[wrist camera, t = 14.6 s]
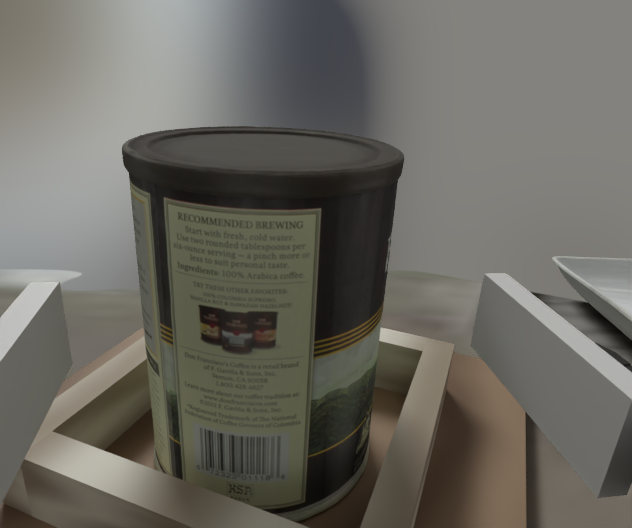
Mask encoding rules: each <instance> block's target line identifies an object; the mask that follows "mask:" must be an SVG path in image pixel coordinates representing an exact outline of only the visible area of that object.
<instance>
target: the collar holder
mask: <svg viewBox="0 0 632 528" xmlns="http://www.w3.org/2000/svg"><path fill="white" fill-rule="evenodd" d="M454 346H455V344H451V343H447V342H443V341H438V340H434V339H429V338H425V337H421V336H416V335H412V334H407V333H403V332H399V331H394V330H390V329H385V328H381V329H380V338H379V348H378V357H377V367H376V377H375V386H374V394H373V407H372V414H371V423H370V433H369V456H368V461H367V465H366V467H365V470H364V472H363V474H362V476H361V477H360V479H359V481H358V482H357V483H356V485H355V486H354V487H353V489H352V490H351V491H350V492H349V493H348V494H347V495H346V496H345V497H344V498H342V499H341V500H340V501H339V502H337V503H336V504H334V505H333V506H331V507H330V508H328V509H327V510H325V511H323V512H320V513H318V514H315V515H313V516H311V517H309V518H307V519H305V520H302V521H299V522H293V521H291V520H288V519H285V518H283V517H280V516H277V515H275V514H272V513H269V512H267V511H264V510H261V509H258V508H256V507H253V506H250V505H248V504H245V503H242V502H240V501H237V500H234V499H232V498H229V497H226V496H224V495H221V494H218V493H216V492H213V491H210V490H208V489H205V488H202V487H200V486H197V485H194V484H192V483H189V482H186V481H184V480H181V479H178V478H176V477H173V476H170V475H168V474H165V473H162V472H160V471H157V469H156V467H155V464H154V445H155V439H154V428H153V417H152V408H151V399H150V387H149V377H148V366H147V355H146V347H145V338H144V327H143V328H141V329H140V330H138V331H137V332H135V333H134V334H132V335H131V336H129V337H128V338H126V339H125V340H123V341H122V342H120V343H119V344H117V345H116V346H115V347H113V348H112V349H110V350H109V351H107V352H106V353H104V354H103V355H101V356H100V357H98V358H97V359H95V360H94V361H92V362H91V363H89V364H88V365H86V366H85V367H83V368H82V369H80V370H79V371H78V372H76V373H75V374H73V375H72V376H70V377H69V378H67V379H66V380H64V381H63V383H62V385H61V387H60V389H59V391H58V393H57V395H56V397H55V399H54V401H53V403H52V405H51V407H50V409H49V411H48V413H47V415H46V417H45V419H44V421H43V423H42V425H41V427H40V429H39V431H38V433H37V435H36V437H35V439H34V441H33V443H32V445H31V447H30V449H29V451H28V452H27V454H26V456H25V458H24V460H23V462H22V464H21V466H20V468H19V470H18V472H17V474H16V476H15V478H14V480H13V482H12V484H11V486H10V488H9V490H8V492H7V494H6V496H5V498H4V500H3V502H2V504H1V506H0V528H526V419H525V410H524V409H523V408H522V407H521V405H520V404H519V403H518V402H517V401H516V399H515V398H514V397H513V396H512V395H511V393H510V392H509V391H508V390H507V389H506V387H505V386H504V385H503V384H502V383H501V381H500V380H499V379H498V378H497V377H496V375H495V374H494V373H493V372H492V371H491V369H490V368H489V367H488V366H487V365H486V363H485V362H484V361H483V360H482V359H479V358H475V357H470V356H466V355H462V354H458V353H453V351H454Z"/></svg>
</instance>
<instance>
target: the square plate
mask: <svg viewBox="0 0 632 528" xmlns="http://www.w3.org/2000/svg"><path fill="white" fill-rule="evenodd" d="M552 260H553V262H554V263H555V264H556V265H557V266H558V267H559V269H560V271H561V273H562V274H563V276H564V277H565V278H566V279H567V281H568V282H569V284H571V286H572V287H573V288H574V289H575V290H576V291H577V292H578V293H579V294H580V295H581V296H582V297H583V298H584V299H585V300H586V301H587V302H588V303H589V304H591V305H592V306H593V307H594V308H595V309H596V310H597V311H598V312H600V313H601V314H602V315H603V316H604V317H605V318H607V319H608V320H609V321H610V322H611V323H612V324H613V325H615V326H616V327H617V328H618V329H619V330H620V331H622V332H623V333H624V334H625V335H626V336H627V337H628V338H629V339H631V340H632V259H623V258H588V257H587V258H586V257H565V256H564V257H563V256H560V257H559V256H556V257H553V258H552Z"/></svg>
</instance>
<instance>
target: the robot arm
mask: <svg viewBox="0 0 632 528" xmlns="http://www.w3.org/2000/svg"><path fill="white" fill-rule="evenodd" d="M471 347H472V348H473V349H474V350H475V351H476V353H477V354H478V355H479V356H480V357H481V359H482V360H483V361H484V362H485V363H486V365H487V366H488V367H489V368H490V369H491V371H492V372H493V373H494V374H495V375H496V377H497V378H498V379H499V380H500V381H501V383H502V384H503V385H504V386H505V387H506V389H507V390H508V391H509V392H510V393H511V395H512V396H513V397H514V398H515V399H516V401H517V402H518V403H519V404H520V405H521V407H522V408H523V409H524V410H525V411H526V413H527V414H528V415H529V416H530V417H531V419H532V420H533V421H534V422H535V423H536V425H537V426H538V427H539V428H540V429H541V431H542V432H543V433H544V434H545V435H546V437H547V438H548V439H549V440H550V441H551V443H552V444H553V445H554V446H555V447H556V449H557V450H558V451H559V452H560V453H561V455H562V456H563V457H564V458H565V459H566V461H567V462H568V463H569V464H570V465H571V467H572V468H573V469H574V470H575V471H576V473H577V474H578V475H579V476H580V477H581V479H582V480H583V481H584V482H585V483H586V485H587V486H588V487H589V488H590V489H591V491H592V492H593V493H594V494H595V495H596V497H597V498H601V497H611V496H621V495H627V493H628V490H629V488H630V485H631V483H632V366H630V363H628V362H627V361H626V360H625V359H623V358H622V357H621V356H619V355H618V354H617V353H615V352H613V351H611V350H609V349H607V348H605V347H603V346H601V345H599V344H597V343H594V342H593V341H591V340H590V339H589V338H587V337H586V336H585V335H584V334H582V333H581V332H580V331H579V330H577V329H576V328H575V327H574V326H572V325H571V324H570V323H568V322H567V321H566V320H565V319H563V318H562V317H561V316H560V315H558V314H557V313H556V312H554V311H553V310H552V309H551V308H549V307H548V306H547V305H546V304H544V303H543V302H542V301H540V300H539V299H538V298H537V297H535V296H534V295H533V294H532V293H530V292H529V291H528V290H526V289H525V288H524V287H523V286H521V285H520V284H519V283H517V282H516V281H515V280H514V279H513V278H511V277H510V276H509V275H507V274H506V273H494V274H493V273H492V274H484V279H483V284H482V289H481V294H480V299H479V304H478V310H477V315H476V320H475V325H474V330H473V335H472V340H471ZM71 365H72V358H71V351H70V345H69V339H68V332H67V326H66V320H65V313H64V307H63V301H62V294H61V288H60V282H31V283H30V284H29V285H28V286H27V287H26V288H25V290H24V291H23V292H22V293H21V294H20V295H19V296H18V298H17V299H16V300H15V301H14V302H13V303H12V305H11V306H10V307H9V308H8V309H7V310H6V311H5V313H4V314H3V315H2V316H1V317H0V506H1V504H2V502H3V500H4V498H5V496H6V494H7V492H8V490H9V488H10V486H11V484H12V482H13V480H14V478H15V476H16V474H17V472H18V470H19V468H20V466H21V464H22V462H23V460H24V458H25V456H26V454H27V452H28V451H29V449H30V447H31V445H32V443H33V441H34V439H35V437H36V435H37V433H38V431H39V429H40V427H41V425H42V423H43V421H44V419H45V417H46V415H47V413H48V411H49V409H50V407H51V405H52V403H53V401H54V399H55V397H56V395H57V393H58V391H59V389H60V387H61V385H62V383H63V381H64V379H65V377H66V375H67V373H68V371H69V369H70V367H71Z"/></svg>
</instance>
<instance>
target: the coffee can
mask: <svg viewBox="0 0 632 528" xmlns="http://www.w3.org/2000/svg"><path fill="white" fill-rule="evenodd" d="M122 154H123V162H124V166H125V168H126V169H127V171H128V172H129V178H130V189H131V200H132V211H133V221H134V231H135V242H136V254H137V263H138V273H139V283H140V294H141V304H142V314H143V323H144V338H145V347H146V355H147V366H148V377H149V387H150V399H151V408H152V417H153V428H154V439H155V445H154V464H155V467H156V469H157V471H160V472H162V473H165V474H168V475H170V476H173V477H176V478H178V479H181V480H184V481H186V482H189V483H192V484H194V485H197V486H200V487H202V488H205V489H208V490H210V491H213V492H216V493H218V494H221V495H224V496H226V497H229V498H232V499H234V500H237V501H240V502H242V503H245V504H248V505H250V506H253V507H256V508H258V509H261V510H264V511H267V512H269V513H272V514H275V515H277V516H280V517H283V518H285V519H288V520H291V521H293V522H299V521H302V520H305V519H307V518H309V517H311V516H313V515H315V514H318V513H320V512H323V511H325V510H327V509H328V508H330V507H331V506H333V505H334V504H336V503H337V502H339V501H340V500H341V499H342V498H344V497H345V496H346V495H347V494H348V493H349V492H350V491H351V490H352V489H353V487H354V486H355V485H356V483H357V482H358V481H359V479H360V477H361V476H362V474H363V472H364V470H365V467H366V465H367V461H368V456H369V433H370V423H371V414H372V407H373V394H374V386H375V377H376V367H377V357H378V348H379V338H380V329H381V320H382V311H383V302H384V294H385V285H386V278H387V269H388V262H389V254H390V243H391V232H392V226H393V216H394V209H395V199H396V190H397V182H398V179H399V177H400V176H401V173H402V168H403V163H404V155H403V153H402V152H401V151H400V150H398V149H396V148H395V147H393V146H391V145H389V144H386V143H383V142H380V141H377V140H374V139H369V138H363V137H359V136H353V135H348V134H341V133H340V134H339V133H334V132H326V131H316V130H306V129H292V128H273V127H246V126H245V127H244V126H241V127H240V126H239V127H200V128H188V129H175V130H166V131H159V132H153V133H148V134H145V135H141V136H138V137H135V138H133V139H130V140H128V141H127V142H126V143H125V144H124V145H123V146H122Z"/></svg>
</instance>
